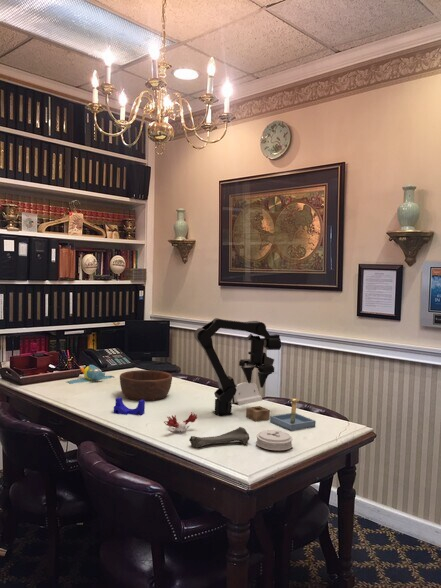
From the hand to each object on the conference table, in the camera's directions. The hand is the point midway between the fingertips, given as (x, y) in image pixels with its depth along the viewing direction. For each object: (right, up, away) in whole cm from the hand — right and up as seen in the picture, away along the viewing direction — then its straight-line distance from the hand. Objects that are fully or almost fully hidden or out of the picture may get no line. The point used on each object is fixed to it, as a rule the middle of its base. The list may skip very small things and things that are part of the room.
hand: (255, 385), depth 217 cm
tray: (+14, -13, -15) cm, 24 cm away
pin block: (0, -12, -8) cm, 15 cm away
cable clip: (-54, -11, -9) cm, 56 cm away
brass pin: (+14, -13, -15) cm, 24 cm away
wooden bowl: (-52, -9, +21) cm, 57 cm away
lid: (+4, -14, -42) cm, 44 cm away
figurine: (-31, -12, -30) cm, 45 cm away
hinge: (-4, -12, +19) cm, 23 cm away
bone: (-15, -14, -43) cm, 48 cm away
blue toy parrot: (-85, -7, +51) cm, 99 cm away
